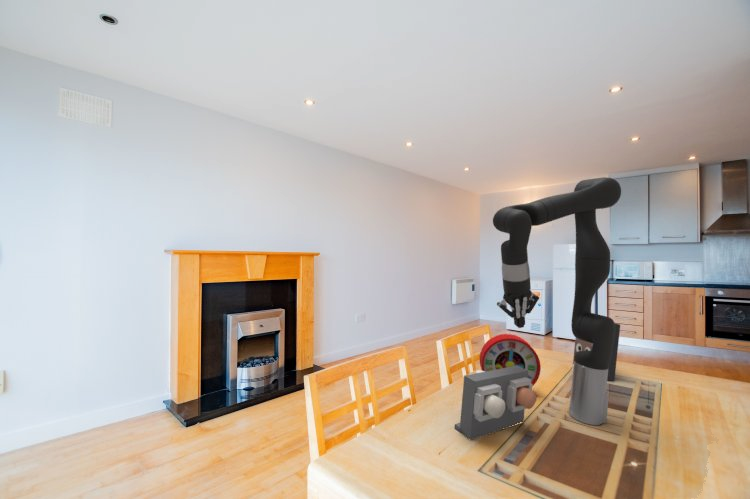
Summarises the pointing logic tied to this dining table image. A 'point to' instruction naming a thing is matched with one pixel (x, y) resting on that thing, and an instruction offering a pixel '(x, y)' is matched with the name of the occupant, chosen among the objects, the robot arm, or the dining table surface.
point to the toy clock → (510, 355)
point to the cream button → (493, 405)
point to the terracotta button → (525, 397)
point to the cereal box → (587, 346)
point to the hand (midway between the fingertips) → (519, 326)
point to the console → (499, 385)
